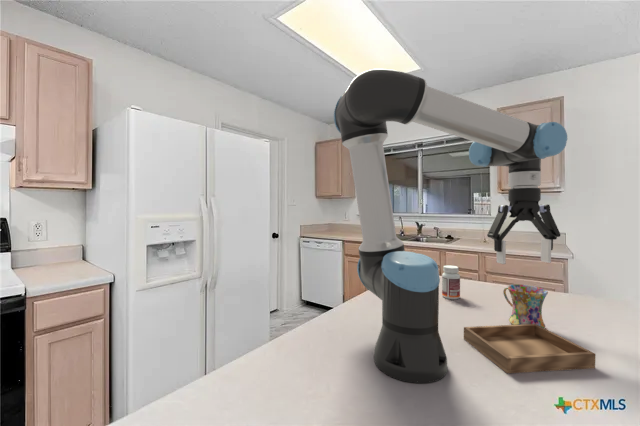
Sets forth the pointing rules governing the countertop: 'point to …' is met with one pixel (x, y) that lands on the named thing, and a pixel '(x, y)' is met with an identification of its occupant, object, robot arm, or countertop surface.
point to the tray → (528, 348)
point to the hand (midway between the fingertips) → (523, 262)
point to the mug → (526, 304)
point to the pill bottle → (451, 282)
